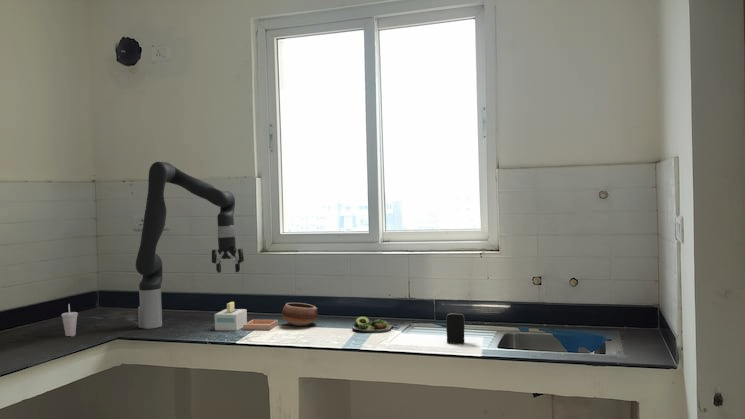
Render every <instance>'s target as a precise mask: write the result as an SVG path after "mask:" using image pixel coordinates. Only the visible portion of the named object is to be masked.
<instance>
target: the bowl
mask: <svg viewBox="0 0 745 419" xmlns="http://www.w3.org/2000/svg"><path fill="white" fill-rule="evenodd" d="M281 316H282V318H283V319H284V320H285V321H286V322H287V323H289V324H291V325H293V326H299V327H303V326H308V325H310V324H312V323H314V322H315V321H316V320H317V318H318V307H316V305H312V304H309V303H303V302H286V303H285V305H284V306H283V309H282V311H281Z"/></svg>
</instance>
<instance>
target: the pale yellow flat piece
mask: <svg viewBox="0 0 745 419" xmlns="http://www.w3.org/2000/svg"><path fill="white" fill-rule="evenodd" d="M226 309H227V313H230V312H232V311H234V310H235V309H236V308H235V301H230V302H228V303H226Z"/></svg>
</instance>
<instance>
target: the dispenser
mask: <svg viewBox="0 0 745 419" xmlns="http://www.w3.org/2000/svg"><path fill="white" fill-rule="evenodd" d="M234 309H235V310H234V311H232V312H230V313H227V308H225V309H222V310H221V311H219V312H217V313H214V330H215V331H229V332H230V331H237V332H238V331H239V330H240V329H242V328H243V325H244V324H246V323H247V322H248V319H247V318H248V316H247V314H248V313H247V311H248V310H247V309H244V308H239V309H238V308H234Z"/></svg>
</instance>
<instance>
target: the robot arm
mask: <svg viewBox="0 0 745 419" xmlns="http://www.w3.org/2000/svg"><path fill="white" fill-rule="evenodd" d="M166 183H169V184H173V185H176V186H179V187H181V188H184V189H185V190H186V191H188V192H189V193H191V194H192V195H194V196H196V197H199V198H201V199H204V200H207V201H208V202H210V203H211V204H212V205H214V206H216V207H219V208H220V209H219V213H218V214H217V218H216V219H217V220H216V221H217V246H218V249H217V248H216V249H215V248H214V249H212V250H211V263H212V264H215V268H216V269H215V270H216V272H217V273H220V274H221V273H222V261H223V260H226V259H227V260H230V259H231V260H232V261H233V262H234V264H235V266H234V267H235V273H240V271H241V263H243V262H245V258H244V250H243V248H236V247H237V246H236V245H237V244H236V230H235V229H236V228H235V220H234V214H235V208H236V207H235V206H236V198H235V196H234V193H233V192H231V191H229V190H228V191H227V190H226V191H225V190H221V189H219V188H216V187H215V186H214V185H212V184H210V183H208V182H206V181H204V180H201V179H199V178H196V177H193V176H191V175H189V174H187V173H186V172H183V171H182V170H180V169H179V168H177V167H176V166H174V165H173V164H171V163H169V162H166V161H165V162H164V161H155V162H154V163H152V164H151V165H150V167H149V170H148V186H147V195H146V196H147V197H146V202H145V203H146V204H145V209H144V215H143V216H144V217H143V222H142V230H141V231H142V232H141V238H140V244H139V248H138V252H137V255H136V259H135V268H136V272H138V274H139V275H141V276H142V279H141V281H140V282H139V285H138V286H139V290H138V292H139V306H138V307H137V314H138V315H137V316H138V328H141V329H147V330H148V329H157V328H161V327H162V326H163V314H162V313H163V311H162V310H163V309H162V308H163V307H162V305H163V304H162V282H163V260H162V257H160V255H159V254H157V253H156V251H157V250H156V249H157V245H158V242H159V241H160V239H161V236H162V234H163V231H164V229H165V226H166V221H167V220H166V219H167V207H166V206H167V205H166V202H165V194H164V193H165V187H166ZM218 254H219V256H218ZM236 254H238V256H237V255H236Z"/></svg>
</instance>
